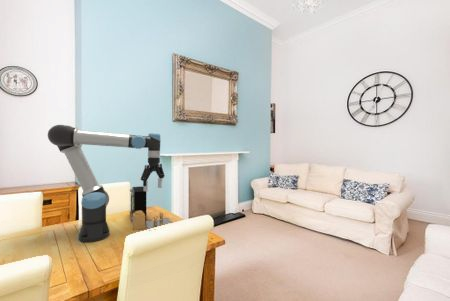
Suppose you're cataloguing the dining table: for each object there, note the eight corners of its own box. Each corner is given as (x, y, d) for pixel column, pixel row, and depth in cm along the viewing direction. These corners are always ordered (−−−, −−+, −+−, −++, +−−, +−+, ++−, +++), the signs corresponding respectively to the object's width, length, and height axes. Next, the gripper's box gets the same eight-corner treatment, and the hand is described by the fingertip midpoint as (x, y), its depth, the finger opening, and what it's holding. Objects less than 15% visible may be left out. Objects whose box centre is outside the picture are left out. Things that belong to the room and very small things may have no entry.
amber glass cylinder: (154, 226, 143) (154, 218, 143) (153, 225, 145) (153, 217, 144) (157, 225, 144) (157, 217, 144) (156, 224, 146) (156, 216, 146)
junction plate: (149, 230, 138) (149, 229, 138) (143, 223, 150) (143, 222, 150) (174, 225, 147) (174, 224, 147) (167, 218, 159) (167, 217, 159)
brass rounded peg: (160, 221, 152) (160, 213, 152) (159, 220, 154) (159, 212, 154) (163, 220, 153) (163, 213, 153) (162, 219, 155) (162, 212, 155)
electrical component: (129, 214, 167) (129, 187, 166) (144, 213, 171) (144, 186, 170) (131, 222, 151) (131, 192, 150) (147, 220, 155) (147, 191, 154)
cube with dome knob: (134, 230, 139) (134, 213, 138) (132, 226, 144) (132, 210, 143) (145, 228, 142) (145, 212, 142) (142, 225, 147) (142, 209, 147)
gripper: (144, 158, 138) (143, 193, 139) (170, 156, 161) (169, 186, 162) (135, 157, 141) (134, 192, 142) (161, 156, 164) (160, 185, 165)
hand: (152, 189), depth 152 cm, fingers open, 13 cm apart
